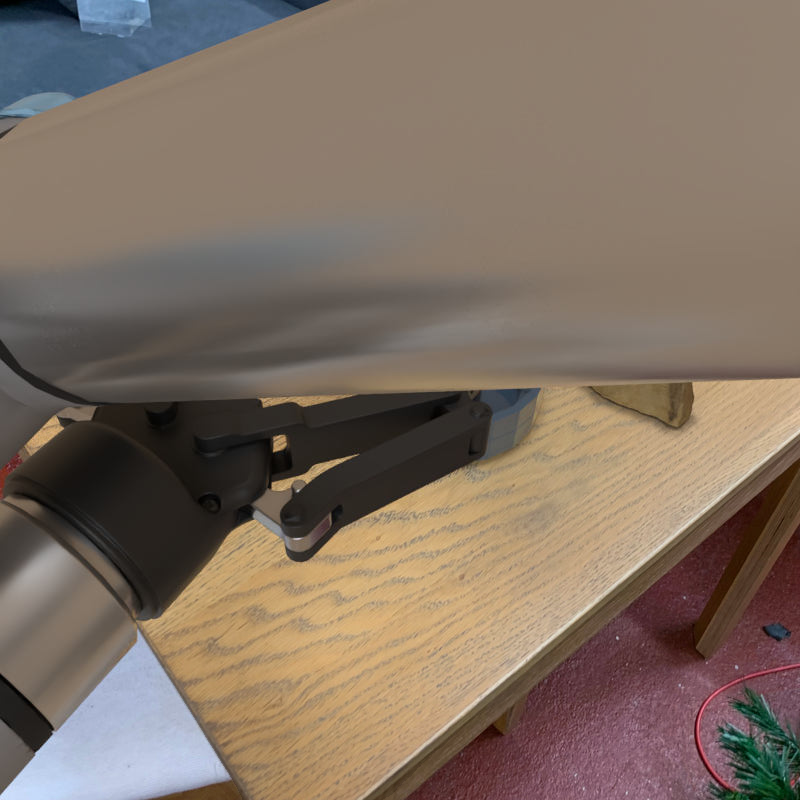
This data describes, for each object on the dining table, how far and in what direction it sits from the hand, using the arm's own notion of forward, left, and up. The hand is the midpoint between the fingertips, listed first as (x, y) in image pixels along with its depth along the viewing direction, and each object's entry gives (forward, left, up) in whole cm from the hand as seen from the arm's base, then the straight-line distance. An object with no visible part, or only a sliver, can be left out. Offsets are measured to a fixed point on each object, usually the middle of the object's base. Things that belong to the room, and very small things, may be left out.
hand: (384, 259), depth 40 cm
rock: (+4, -30, -30) cm, 43 cm away
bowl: (+12, -14, -30) cm, 35 cm away
